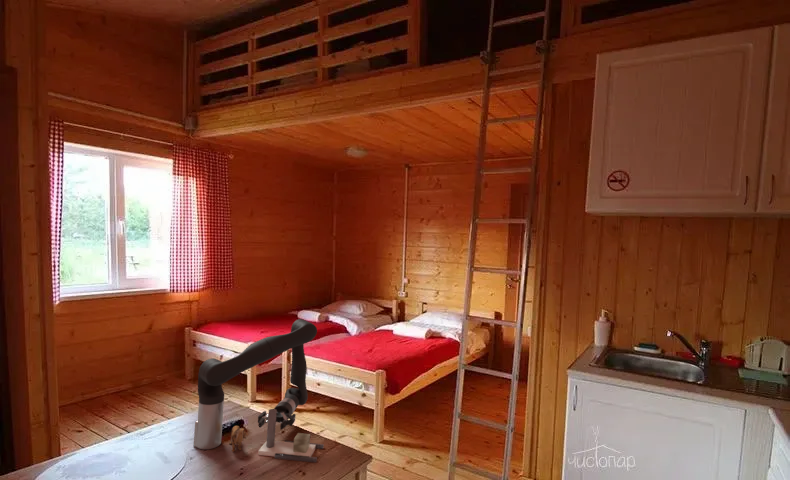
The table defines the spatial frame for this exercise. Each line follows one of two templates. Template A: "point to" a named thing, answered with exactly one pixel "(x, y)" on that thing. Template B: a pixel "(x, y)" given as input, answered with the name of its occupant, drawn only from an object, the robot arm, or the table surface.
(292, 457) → the guide rails
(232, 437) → the lion figurine
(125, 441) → the table surface
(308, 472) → the table surface
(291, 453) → the base with upright peg
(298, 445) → the block
